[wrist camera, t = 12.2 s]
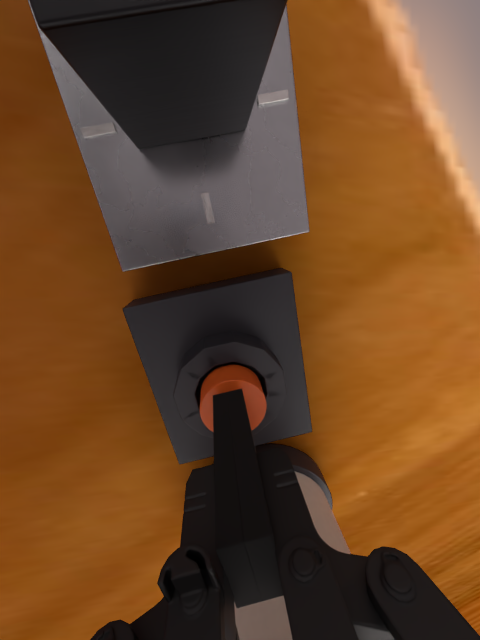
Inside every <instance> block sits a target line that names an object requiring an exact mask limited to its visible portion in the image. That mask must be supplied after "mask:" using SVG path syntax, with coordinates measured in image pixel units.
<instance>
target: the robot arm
mask: <svg viewBox="0 0 480 640" xmlns="http://www.w3.org/2000/svg"><path fill="white" fill-rule="evenodd" d="M213 440H214V464H213V465H209V466H205V467H201V468H197V469H193V470H192V472H191V474H190V477H189V479H188V481H187V483H186V492H185V503H184V514H183V523H182V534H181V544H180V548H178V549H177V550H176V551H174V552H173V553H172V554H171V555H170V556H169V557H168V559H167V561H166V562H165V564H164V566H163V567H162V569H161V572H160V576H159V579H158V583H157V584H158V585H159V587H160V589H161V591H162V593H163V595H164V597H163V599H162V600H161V601H160V602H159V603H158V604H156V605H155V606H154V607H153V608H152V609H150V610H149V611H147V612H146V613H145V614H143V615H142V616H141V617H139V618H138V619H136V620H135V621H134V622H132V623H131V624H128V623H126V622H124V621H122V620H117V621H112V622H109V623H108V624H106V625H105V626H104V627H102V628H101V629H99V630H98V631H97V632H96V634H95V635H94V636H93V637H92V638H91V639H90V640H240V639H239V635H238V630H237V627H236V622H235V607H234V602H235V605H236V608H240V607H244V606H248V605H251V604H255V603H258V602H262V601H266V600H269V599H273V598H277V597H280V596H284V600H285V605H286V610H287V615H288V620H289V625H290V629H291V634H292V639H293V640H480V636H479V635H478V634H477V632H476V631H475V630H474V629H473V628H472V627H471V625H470V624H469V623H468V622H467V621H466V620H465V618H464V617H463V616H462V615H461V614H460V613H459V612H458V610H457V609H456V608H455V607H454V606H453V605H452V603H451V602H450V601H449V600H448V599H447V598H446V596H445V595H444V594H443V593H442V592H441V591H440V590H439V588H438V587H437V586H436V585H435V584H434V583H433V581H432V580H431V579H430V578H429V577H428V576H427V574H426V573H425V572H424V571H423V570H422V569H421V568H420V566H419V565H418V564H417V563H416V562H414V561H413V560H412V559H411V558H410V557H409V556H408V555H407V554H405V553H403V552H401V551H399V550H397V549H395V548H390V547H380V548H377V549H374V550H373V551H372V552H371V554H370V555H369V556H368V557H366V556H359V555H353V554H346V553H343V552H339V551H337V550H335V549H333V548H332V547H330V546H329V545H328V544H327V543H325V542H324V541H323V540H322V538H321V537H320V536H319V534H318V533H317V530H316V528H315V526H314V524H313V521H312V518H311V515H310V513H309V510H308V507H307V504H306V501H305V499H304V496H303V493H302V490H301V488H300V485H299V483H298V479H297V476H296V474H295V471H294V468H293V465H292V463H291V460H290V457H289V456H288V455H287V453H286V452H285V451H284V450H283V449H282V448H281V447H278V448H274V449H270V450H266V451H262V452H258V453H256V449H255V444H254V439H253V435H252V430H251V426H250V421H249V417H248V412H247V408H246V404H245V399H244V395H243V391H242V388H241V389H237V390H233V391H229V392H225V393H220V394H216V395H213Z"/></svg>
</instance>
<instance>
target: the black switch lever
mask: <svg viewBox="0 0 480 640" xmlns="http://www.w3.org/2000/svg"><path fill="white" fill-rule="evenodd" d="M29 1H30V4H31V7H32V10H33V13H34V16H35V19H36V22H37V25H38V26H39V28H40V29H41V31H42V32H43V33H44V34H45V35H46V37H47V38H48V39H49V40H50V42H51V43H52V44H53V45H54V46H55V48H56V49H57V50H58V51H59V53H60V54H61V55H62V56H63V57H64V59H65V60H66V61H67V62H68V64H69V65H70V66H71V67H72V68H73V70H74V71H75V72H76V73H77V75H78V76H79V77H80V78H81V80H82V81H83V82H84V83H85V84H86V86H87V87H88V88H89V89H90V91H91V92H92V93H93V94H94V95H95V97H96V98H97V99H98V100H99V102H100V103H101V104H102V105H103V106H104V108H105V109H106V110H107V111H108V113H109V114H110V115H111V116H112V117H113V119H114V120H115V121H116V122H117V124H118V125H119V126H120V127H121V129H122V130H123V131H124V132H125V133H126V135H127V136H128V137H129V138H130V140H131V141H132V142H133V143H134V144H135V146H136V147H137V148H138V149H143V148H148V147H154V146H160V145H165V144H171V143H177V142H182V141H188V140H193V139H199V138H205V137H210V136H216V135H221V134H227V133H233V132H238V131H244V130H246V128H247V124H248V121H249V118H250V115H251V112H252V109H253V106H254V103H255V100H256V97H257V93H258V90H259V87H260V84H261V81H262V78H263V75H264V72H265V69H266V66H267V62H268V59H269V56H270V53H271V50H272V47H273V44H274V41H275V38H276V34H277V31H278V28H279V25H280V22H281V19H282V16H283V13H284V10H285V7H286V3H287V0H29Z"/></svg>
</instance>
